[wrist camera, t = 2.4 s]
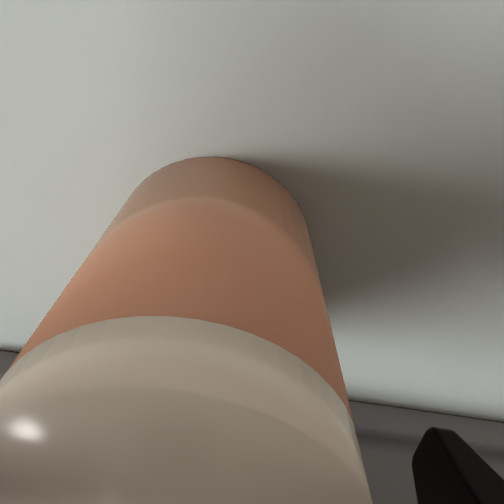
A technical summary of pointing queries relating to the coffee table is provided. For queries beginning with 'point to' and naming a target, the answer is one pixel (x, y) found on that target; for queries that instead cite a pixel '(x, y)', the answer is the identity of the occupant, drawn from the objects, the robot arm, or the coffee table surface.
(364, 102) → the coffee table surface
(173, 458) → the jar
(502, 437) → the lane
